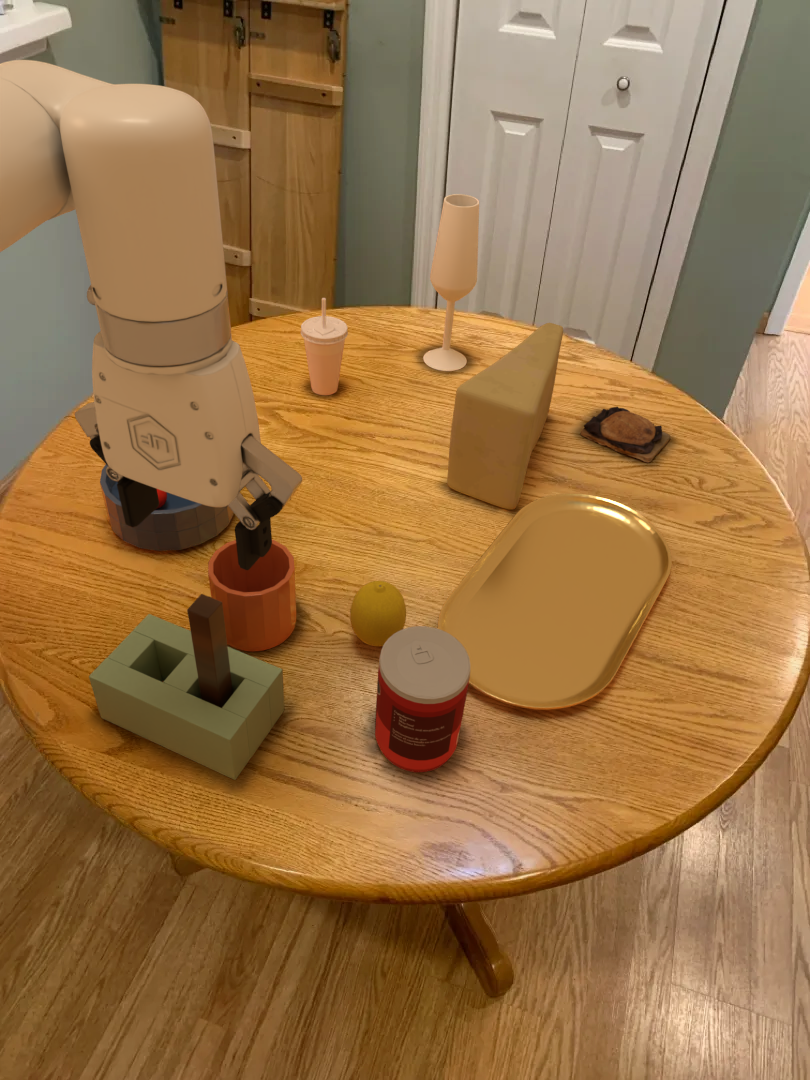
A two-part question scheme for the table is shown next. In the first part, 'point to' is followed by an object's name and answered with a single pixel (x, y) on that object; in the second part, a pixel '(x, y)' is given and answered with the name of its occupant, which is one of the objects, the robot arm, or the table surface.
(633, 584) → the serving platter
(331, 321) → the smoothie
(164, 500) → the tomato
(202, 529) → the bowl
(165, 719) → the cinder block
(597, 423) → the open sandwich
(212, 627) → the stick
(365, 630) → the lemon
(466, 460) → the cheese
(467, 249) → the champagne flute
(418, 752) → the canned food
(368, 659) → the table surface
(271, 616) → the crock
